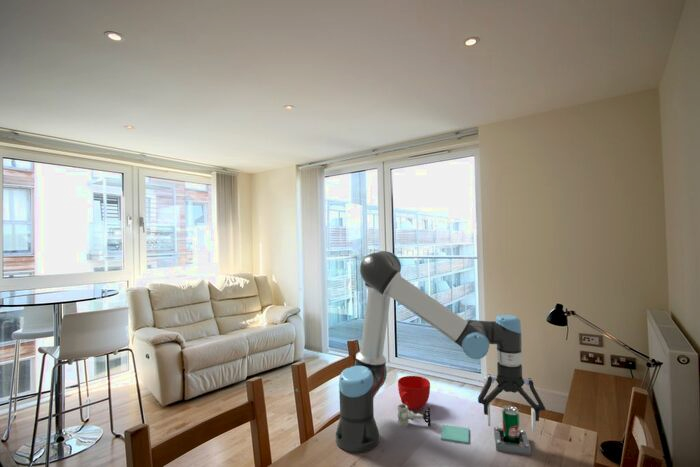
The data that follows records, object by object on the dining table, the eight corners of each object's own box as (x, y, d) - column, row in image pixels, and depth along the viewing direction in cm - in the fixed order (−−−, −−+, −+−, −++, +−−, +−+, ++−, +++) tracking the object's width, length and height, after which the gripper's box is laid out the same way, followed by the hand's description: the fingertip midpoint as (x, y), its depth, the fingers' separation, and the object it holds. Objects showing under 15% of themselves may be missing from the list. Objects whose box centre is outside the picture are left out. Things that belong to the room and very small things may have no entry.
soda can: (510, 450, 116) (509, 413, 116) (499, 441, 120) (498, 406, 120) (523, 447, 117) (522, 410, 117) (512, 438, 122) (511, 403, 122)
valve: (397, 428, 130) (431, 430, 128) (396, 410, 130) (430, 412, 128) (397, 419, 137) (430, 421, 135) (397, 401, 137) (429, 403, 135)
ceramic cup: (387, 412, 142) (387, 387, 142) (407, 396, 155) (406, 373, 155) (418, 422, 134) (417, 395, 134) (435, 404, 148) (435, 379, 148)
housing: (496, 450, 115) (496, 441, 115) (494, 434, 125) (493, 425, 125) (530, 455, 112) (530, 446, 112) (525, 438, 122) (525, 429, 122)
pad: (440, 439, 122) (440, 438, 122) (442, 426, 131) (442, 424, 131) (468, 443, 120) (468, 442, 120) (468, 429, 128) (468, 428, 128)
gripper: (469, 363, 119) (471, 427, 119) (554, 370, 111) (556, 439, 111) (469, 356, 126) (471, 416, 126) (549, 362, 118) (550, 426, 118)
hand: (511, 427), depth 119 cm, fingers open, 13 cm apart
